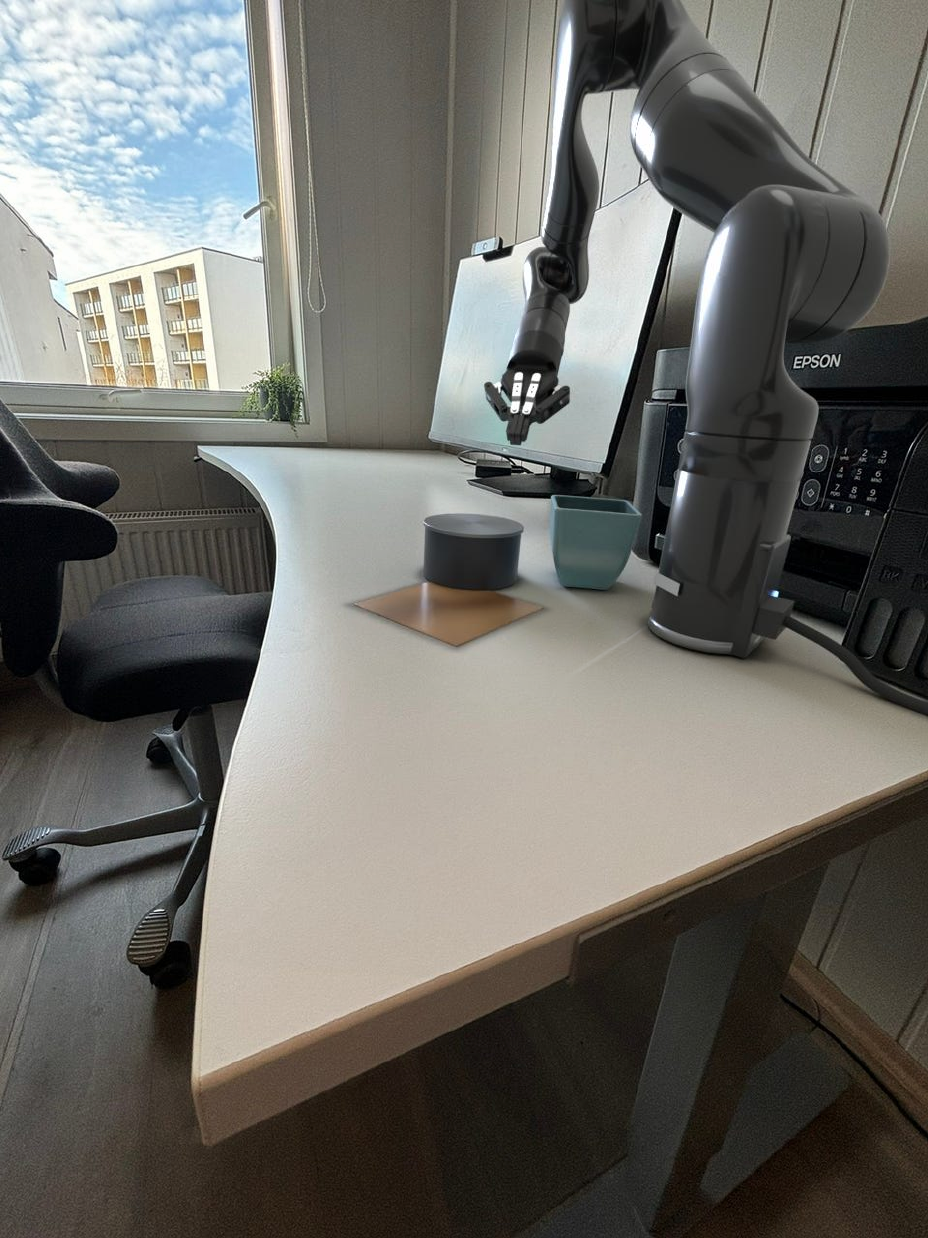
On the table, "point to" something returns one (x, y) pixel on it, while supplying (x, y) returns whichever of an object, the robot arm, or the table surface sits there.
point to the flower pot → (591, 539)
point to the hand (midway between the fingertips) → (515, 440)
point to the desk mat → (449, 611)
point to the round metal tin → (471, 551)
